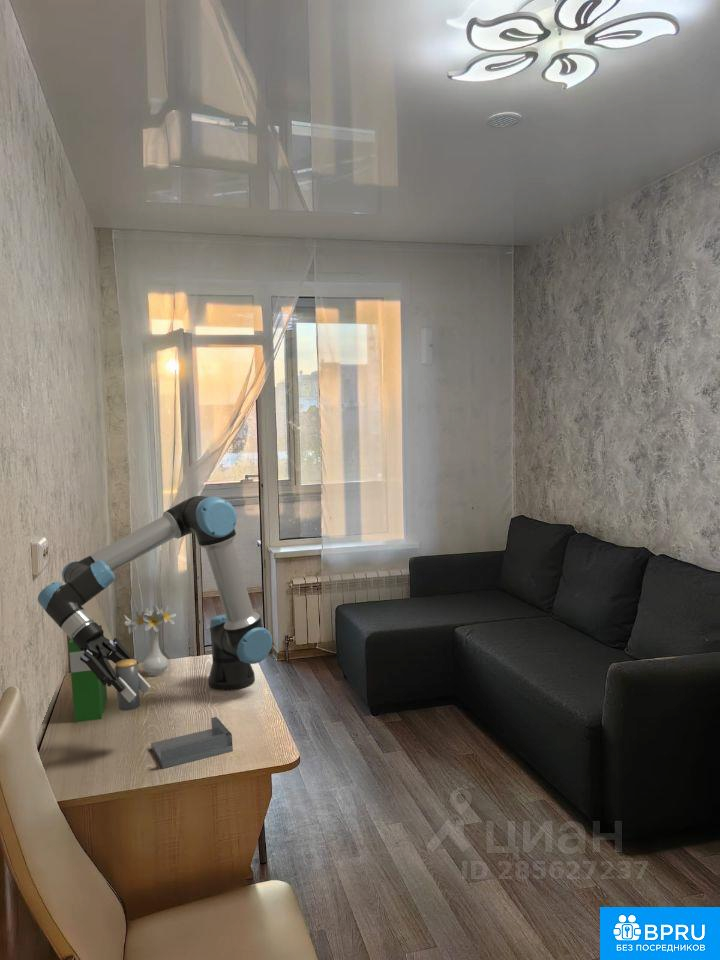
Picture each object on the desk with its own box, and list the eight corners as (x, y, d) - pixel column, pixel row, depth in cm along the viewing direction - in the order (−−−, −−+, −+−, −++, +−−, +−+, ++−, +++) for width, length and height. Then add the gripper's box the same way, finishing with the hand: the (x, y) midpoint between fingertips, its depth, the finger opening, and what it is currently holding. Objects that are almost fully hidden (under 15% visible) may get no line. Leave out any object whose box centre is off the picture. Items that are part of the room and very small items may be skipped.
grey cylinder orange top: (137, 701, 198) (135, 657, 197) (142, 707, 193) (139, 662, 192) (116, 705, 196) (113, 661, 195) (120, 712, 191) (116, 666, 190)
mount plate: (217, 732, 203) (216, 716, 203) (232, 751, 191) (231, 734, 190) (151, 748, 195) (150, 732, 195) (162, 768, 183) (161, 751, 182)
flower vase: (127, 673, 261) (122, 607, 259) (177, 665, 267) (173, 600, 266) (129, 683, 249) (124, 614, 248) (182, 674, 256) (177, 607, 254)
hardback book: (82, 702, 234) (76, 627, 232) (107, 698, 235) (101, 625, 234) (74, 722, 217) (68, 642, 215) (101, 718, 218) (95, 639, 217)
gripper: (98, 630, 207) (152, 691, 203) (51, 650, 189) (110, 717, 185) (112, 612, 205) (168, 673, 201) (66, 631, 187) (126, 697, 183)
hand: (140, 694), depth 193 cm, fingers closed on grey cylinder orange top, 6 cm apart
